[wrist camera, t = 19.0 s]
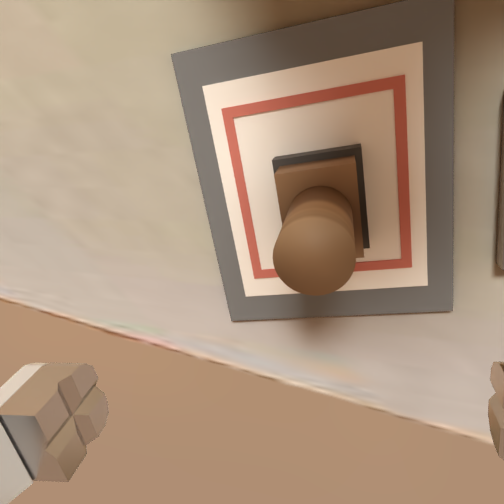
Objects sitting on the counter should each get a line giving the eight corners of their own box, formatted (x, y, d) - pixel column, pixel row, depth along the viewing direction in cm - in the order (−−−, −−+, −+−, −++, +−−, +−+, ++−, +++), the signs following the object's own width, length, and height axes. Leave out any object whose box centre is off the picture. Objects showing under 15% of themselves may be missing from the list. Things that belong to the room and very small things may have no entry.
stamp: (274, 156, 24) (241, 196, 16) (360, 143, 23) (370, 179, 15) (289, 248, 26) (266, 324, 18) (368, 240, 25) (381, 318, 17)
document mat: (173, 54, 24) (169, 54, 23) (452, -10, 20) (455, -12, 19) (232, 318, 30) (230, 322, 30) (451, 307, 26) (453, 312, 26)
